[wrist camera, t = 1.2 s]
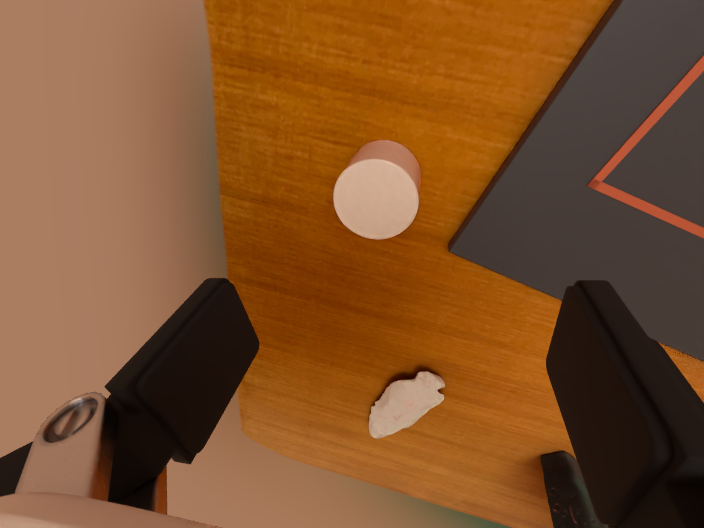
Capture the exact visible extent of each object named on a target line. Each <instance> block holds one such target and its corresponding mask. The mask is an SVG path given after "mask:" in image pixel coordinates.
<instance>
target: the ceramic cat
mask: <svg viewBox="0 0 704 528" xmlns="http://www.w3.org/2000/svg"><path fill="white" fill-rule="evenodd" d="M541 465H542V468H543V474H544V482H545V488H546V493H547V497H548V503H549V507H550V512H551V517H552V522H553V526H554V528H609V527H608V526H607V525H606V524H602V523H601V522H600V521H599V520H598V518H597V516H596V514H595V512H594V509H593V506H592V503H591V500H590V497H589V494H588V491H587V488H586V485H585V482H584V479H583V476H582V473H581V470H580V467H579V465H578V463H577V461H576V460H575V458H574V457H573V456H571V455H570V454H568V453H566V452H564V451H562V452H556V453H552V454H547V455H541Z"/></svg>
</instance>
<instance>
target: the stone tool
mask: <svg viewBox="0 0 704 528" xmlns="http://www.w3.org/2000/svg"><path fill="white" fill-rule="evenodd" d="M442 387H445V383H444V381H443V380H442V379H441V377H440V376H438V375H435V374H432V373H430V372H428V371H426V372H419V373H418V374H417V377H416V378H415V379H411V380H398V381H395V382H393V383H391V384H390V386H389V387H387V388H386V390H385V392H384V394H382V397H381V398H380V400H378V401H375V406H372V407H371V408H372V409H371V414H370V416H369V418H370V420H369V431H370V435H371V436H372V437H374V438H382V437H385V436H387V435H391V434H393V433H395V432H397V431H400V430H401V429H402V428H408V427H410V426H411V425H413V424H414V423H415V422H416V421H417V420H418V419H419V418H420V417H421V416H423V415H424V414H426V413H427V411H428V410H429V409H431V408H433V407H435V406H436V405H439V404H440V403H441V402H442V401H443V400H444V395H443V394H440V393H439V392H438V391H437V390H438V389H440V388H442Z"/></svg>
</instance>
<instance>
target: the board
mask: <svg viewBox="0 0 704 528" xmlns="http://www.w3.org/2000/svg"><path fill="white" fill-rule="evenodd" d="M448 248H449V252H450V253H453V254H455V255H457V256H460V257H462V258H464V259H467V260H469V261H471V262H474V263H476V264H478V265H481V266H483V267H485V268H488V269H490V270H492V271H495V272H497V273H499V274H502V275H504V276H506V277H509V278H511V279H513V280H516V281H518V282H520V283H522V284H525V285H527V286H529V287H532V288H534V289H536V290H539V291H541V292H543V293H546V294H548V295H550V296H553V297H555V298H557V299H560V300H563V297H564V293H565V290H566V288H567V287H568V286H574V284H575V282H576V281H578V280H606V281H608V282H609V283H610V284H611V285H612V287H613V288H614V289H615V291H616V292H617V294H618V295H619V296H620V298H621V299H622V301H623V302H624V303H625V305H626V306H627V308H628V309H629V310H630V312H631V313H632V315H633V316H634V317H635V319H636V320H637V322H638V323H639V324H640V326H641V327H642V329H643V330H644V331H645V333H646V334H647V336H648V337H649V338H652V339H653V340H655V341H657V342H660V343H662V344H664V345H667V346H669V347H671V348H674V349H676V350H678V351H681V352H683V353H685V354H688V355H690V356H692V357H694V358H697V359H699V360H701V361H704V0H614V2H613V3H612V5H611V6H610V7H609V9H608V10H607V12H606V13H605V15H604V16H603V18H602V19H601V21H600V22H599V24H598V25H597V27H596V28H595V30H594V31H593V32H592V34H591V35H590V37H589V38H588V40H587V41H586V43H585V44H584V46H583V47H582V49H581V50H580V52H579V53H578V55H577V56H576V57H575V59H574V60H573V62H572V63H571V65H570V66H569V68H568V69H567V71H566V72H565V74H564V75H563V77H562V78H561V80H560V81H559V83H558V84H557V85H556V87H555V88H554V90H553V91H552V93H551V94H550V96H549V97H548V99H547V100H546V102H545V103H544V105H543V106H542V108H541V109H540V110H539V112H538V113H537V115H536V116H535V118H534V119H533V121H532V122H531V124H530V125H529V127H528V128H527V130H526V131H525V133H524V134H523V135H522V137H521V138H520V140H519V141H518V143H517V144H516V146H515V147H514V149H513V150H512V152H511V153H510V155H509V156H508V158H507V159H506V160H505V162H504V163H503V165H502V166H501V168H500V169H499V171H498V172H497V174H496V175H495V177H494V178H493V180H492V181H491V183H490V184H489V185H488V187H487V188H486V190H485V191H484V193H483V194H482V196H481V197H480V199H479V200H478V202H477V203H476V205H475V206H474V208H473V209H472V210H471V212H470V213H469V215H468V216H467V218H466V219H465V221H464V222H463V224H462V225H461V227H460V228H459V230H458V231H457V233H456V234H455V235H454V237H453V238H452V240H451V241H450V243H449V244H448Z"/></svg>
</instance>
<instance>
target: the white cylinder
mask: <svg viewBox="0 0 704 528" xmlns="http://www.w3.org/2000/svg"><path fill="white" fill-rule="evenodd" d="M420 183H421V171H420V167H419V164H418V162H417V160H416V158H415V156H414V155H413V154H412V153H411V152H410V151H409V150H408V149H407V148H406V147H405V146H403V145H401V144H399V143H397V142H393V141H389V140H378V141H373V142H370V143H368V144H366V145H364V146H362V147H361V148H360V149H359V150H357V152H356V153H355V154H354V155H353V157H352V158H351V160H350V161H349V163H348V164H347V166H346V167H345V169H344V170H343V172H342V173H341V175H340V176H339V178H338V179H337V182H336V184H335V187H334V192H333V202H334V207H335V210H336V213H337V215H338V217H339V218H340V220H341V221H342V223H343V224H344V225H345V226H346V227H347V228H348V229H349V230H351V231H352V232H354V233H356V234H358V235H360V236H362V237H365V238H370V239H386V238H390V237H393V236H396V235H398V234H399V233H401V232H403V231H404V230H405V229H406V228H407V227H408V226H409V225H410V224H411V223H412V221H413V220H414V218H415V216H416V213H417V211H418V206H419V194H420Z"/></svg>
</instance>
